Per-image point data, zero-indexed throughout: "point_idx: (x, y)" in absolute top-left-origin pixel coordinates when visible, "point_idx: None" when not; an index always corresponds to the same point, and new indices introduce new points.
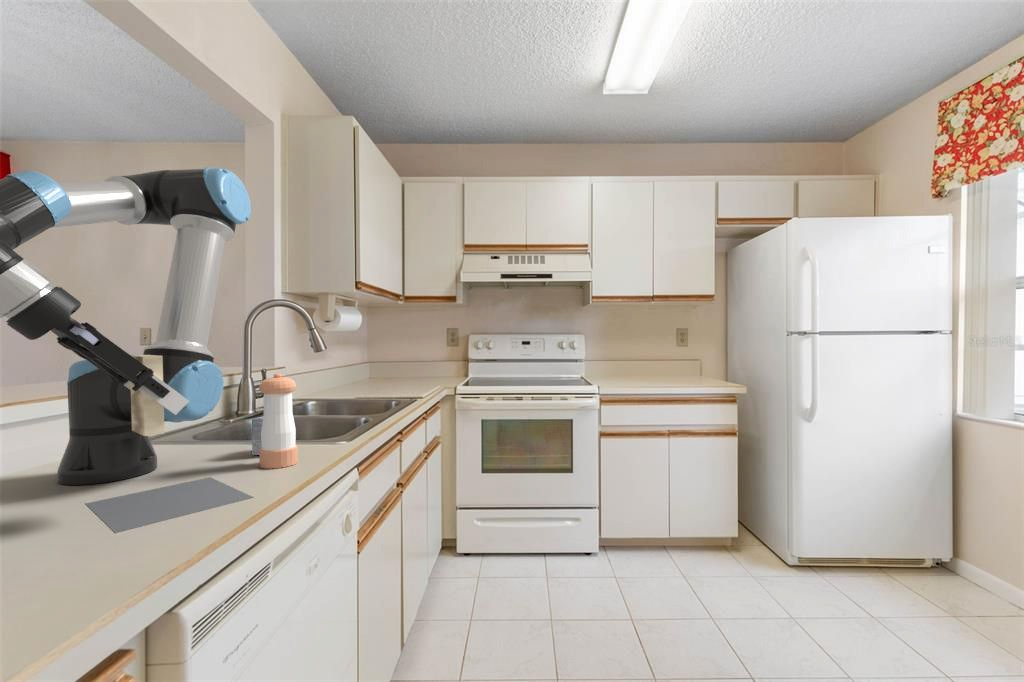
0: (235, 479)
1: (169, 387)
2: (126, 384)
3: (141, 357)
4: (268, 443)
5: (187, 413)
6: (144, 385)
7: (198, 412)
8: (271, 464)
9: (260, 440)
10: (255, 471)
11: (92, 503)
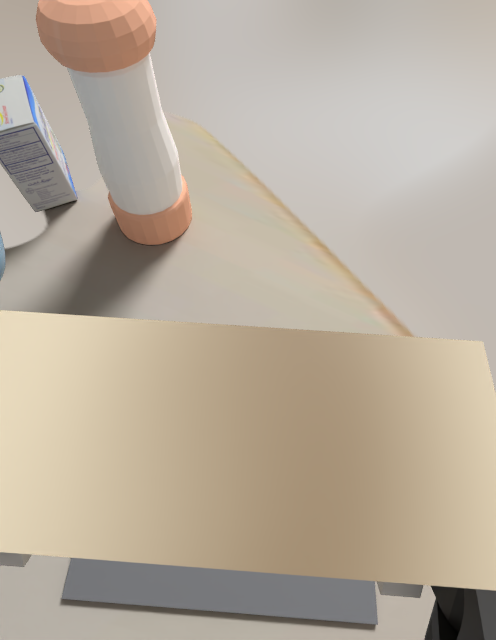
0: (183, 307)
1: None
2: (26, 554)
3: (474, 587)
4: (155, 199)
5: (2, 273)
6: None
7: (2, 241)
8: (174, 232)
9: (41, 178)
10: (162, 262)
11: (80, 585)
